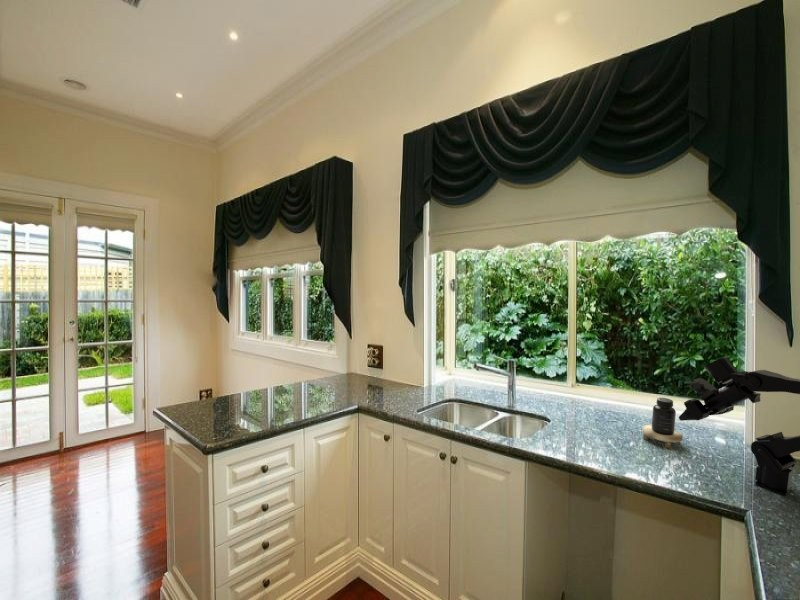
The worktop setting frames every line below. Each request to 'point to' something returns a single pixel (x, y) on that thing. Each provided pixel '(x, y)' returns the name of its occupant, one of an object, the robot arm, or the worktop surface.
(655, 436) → the stool
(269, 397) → the worktop surface
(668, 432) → the supplement bottle
